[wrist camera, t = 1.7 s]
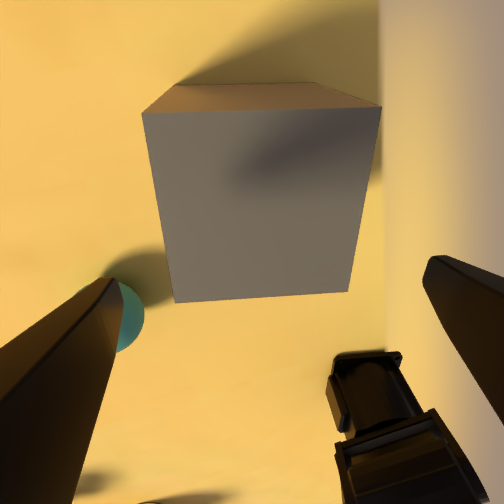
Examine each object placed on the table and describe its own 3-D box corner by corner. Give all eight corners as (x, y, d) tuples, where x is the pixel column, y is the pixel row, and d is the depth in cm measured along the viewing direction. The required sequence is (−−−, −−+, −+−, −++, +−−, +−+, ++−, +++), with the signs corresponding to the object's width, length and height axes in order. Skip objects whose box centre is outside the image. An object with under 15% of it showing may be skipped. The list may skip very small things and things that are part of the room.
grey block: (314, 82, 18) (381, 106, 11) (303, 209, 22) (347, 291, 15) (173, 85, 18) (141, 113, 10) (189, 215, 22) (174, 303, 14)
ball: (143, 264, 23) (127, 312, 19) (155, 316, 26) (143, 368, 22) (70, 268, 23) (37, 318, 19) (90, 320, 26) (65, 374, 21)
